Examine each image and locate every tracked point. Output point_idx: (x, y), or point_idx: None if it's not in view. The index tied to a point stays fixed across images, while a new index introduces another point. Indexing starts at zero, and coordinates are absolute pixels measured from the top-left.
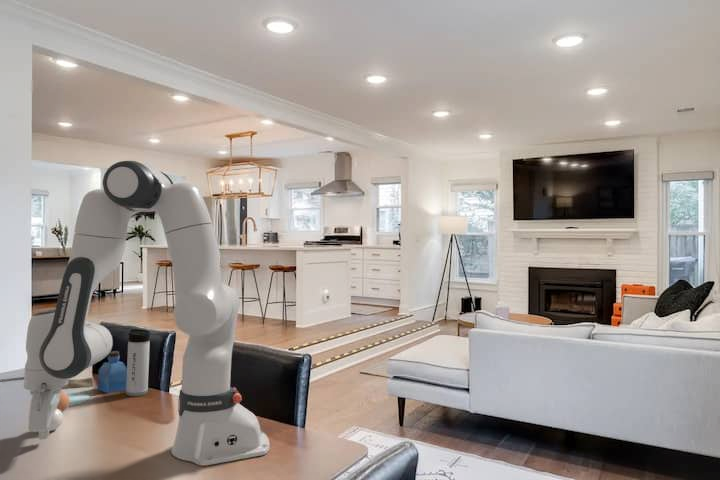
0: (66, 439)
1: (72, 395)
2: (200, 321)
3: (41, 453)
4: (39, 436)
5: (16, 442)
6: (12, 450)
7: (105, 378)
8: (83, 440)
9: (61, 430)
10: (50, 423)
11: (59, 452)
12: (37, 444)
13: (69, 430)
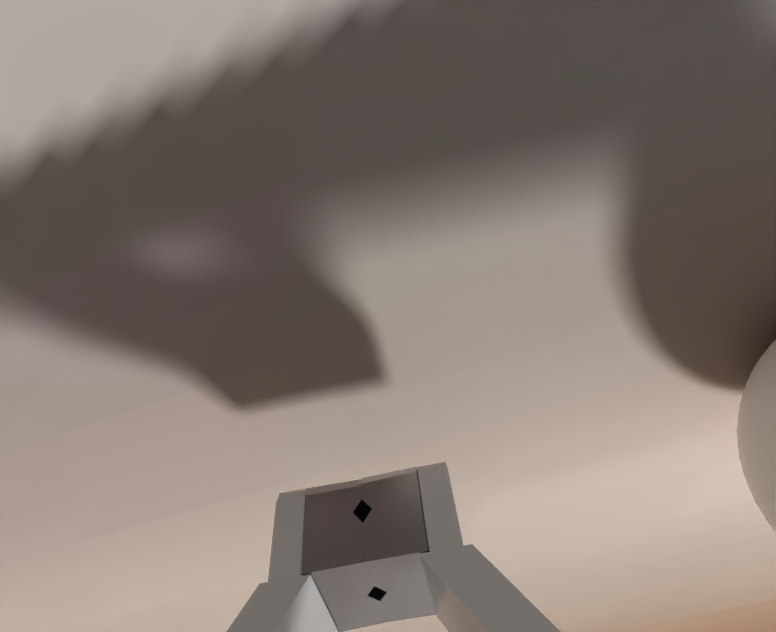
0: (473, 536)
1: None
2: None
3: (127, 482)
4: (275, 527)
5: (511, 92)
6: (189, 169)
7: None
8: (420, 625)
9: None
10: (761, 487)
11: (165, 579)
12: (381, 372)
13: (718, 492)
